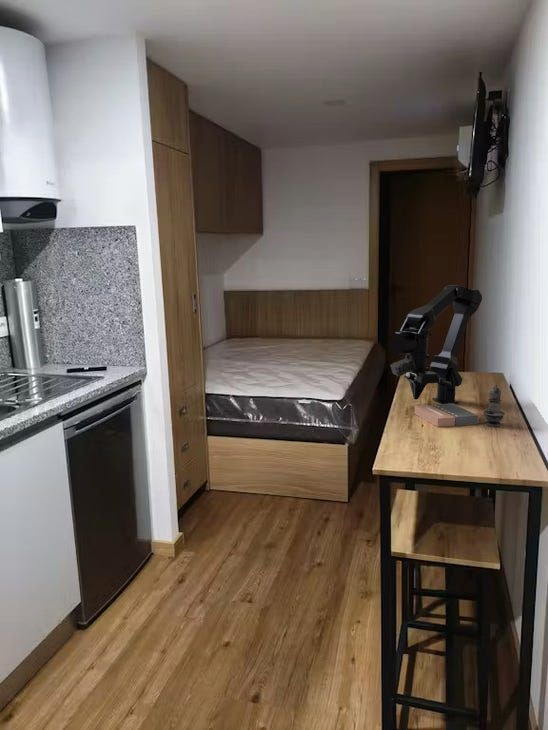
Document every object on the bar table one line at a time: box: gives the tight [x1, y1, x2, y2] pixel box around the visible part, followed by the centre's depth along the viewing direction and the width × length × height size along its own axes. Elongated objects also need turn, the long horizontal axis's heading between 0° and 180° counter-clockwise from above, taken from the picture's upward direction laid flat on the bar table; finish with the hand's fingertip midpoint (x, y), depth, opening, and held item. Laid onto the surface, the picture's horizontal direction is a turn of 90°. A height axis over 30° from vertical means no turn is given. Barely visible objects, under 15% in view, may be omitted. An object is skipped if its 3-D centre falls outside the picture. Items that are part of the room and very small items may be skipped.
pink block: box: [414, 404, 456, 428], centre depth 169 cm, size 14×6×3 cm, turn 13°
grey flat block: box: [431, 403, 479, 426], centre depth 170 cm, size 14×7×3 cm, turn 13°
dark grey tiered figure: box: [483, 384, 506, 428], centre depth 163 cm, size 6×6×12 cm
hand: (415, 399), depth 180 cm, fingers closed
